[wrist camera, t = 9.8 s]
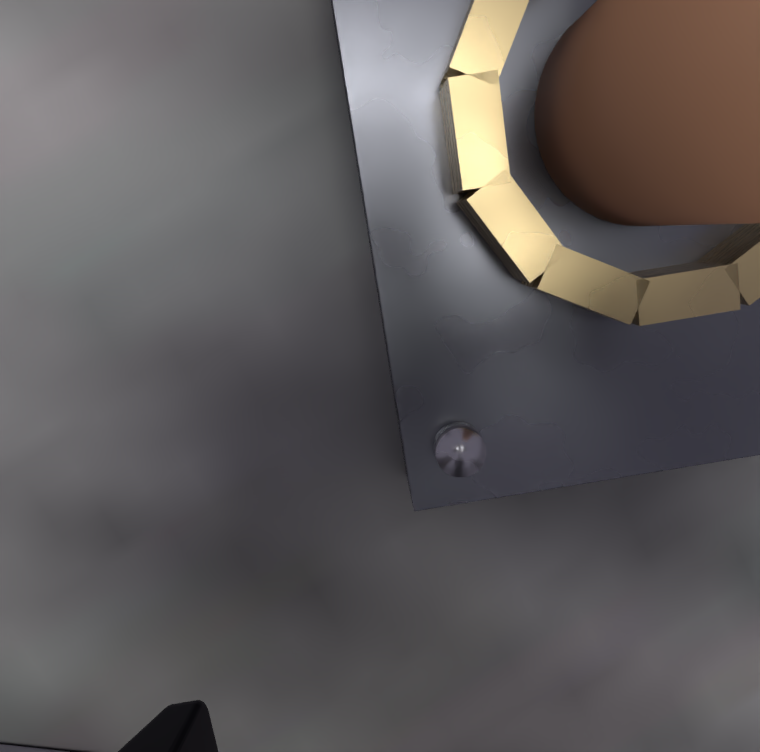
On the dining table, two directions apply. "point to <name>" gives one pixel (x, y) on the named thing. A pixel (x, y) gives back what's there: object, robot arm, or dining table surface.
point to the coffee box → (24, 749)
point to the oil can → (656, 112)
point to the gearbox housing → (530, 273)
